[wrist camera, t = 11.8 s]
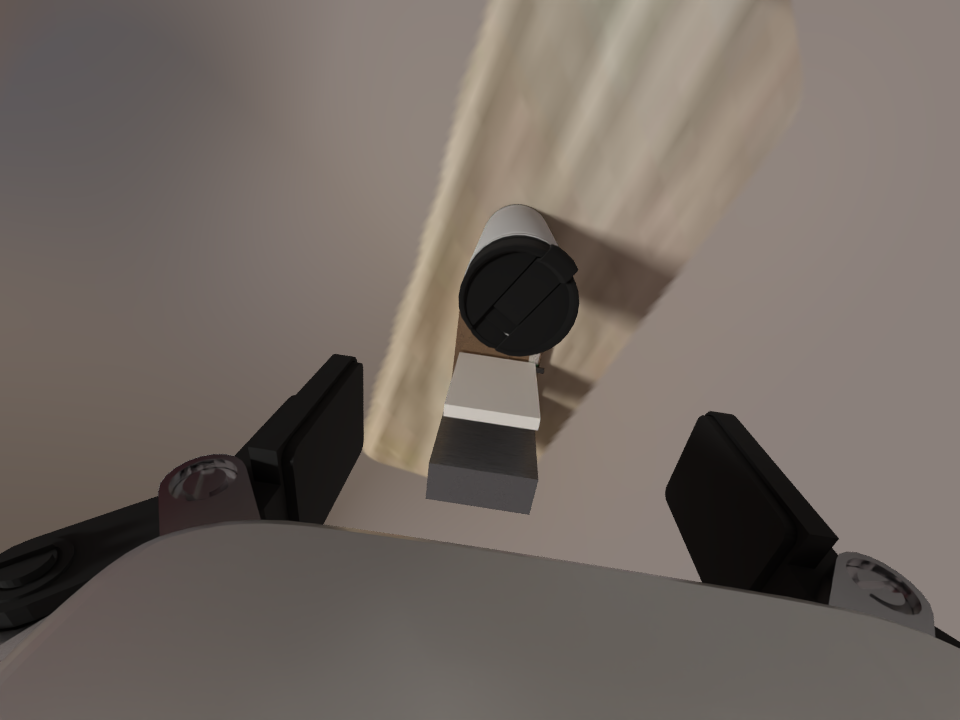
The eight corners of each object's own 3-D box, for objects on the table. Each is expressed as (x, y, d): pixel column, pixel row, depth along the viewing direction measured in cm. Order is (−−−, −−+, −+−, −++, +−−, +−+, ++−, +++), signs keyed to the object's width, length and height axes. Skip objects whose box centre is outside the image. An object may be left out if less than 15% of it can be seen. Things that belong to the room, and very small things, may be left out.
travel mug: (566, 232, 37) (614, 298, 19) (518, 285, 40) (521, 386, 22) (516, 185, 36) (518, 209, 18) (469, 242, 38) (430, 314, 20)
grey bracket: (462, 294, 41) (439, 354, 28) (550, 307, 41) (566, 373, 28) (449, 408, 47) (425, 498, 35) (525, 420, 47) (529, 514, 34)
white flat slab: (459, 351, 42) (444, 404, 33) (544, 364, 42) (552, 420, 33) (458, 362, 42) (443, 415, 34) (542, 374, 42) (549, 432, 33)
